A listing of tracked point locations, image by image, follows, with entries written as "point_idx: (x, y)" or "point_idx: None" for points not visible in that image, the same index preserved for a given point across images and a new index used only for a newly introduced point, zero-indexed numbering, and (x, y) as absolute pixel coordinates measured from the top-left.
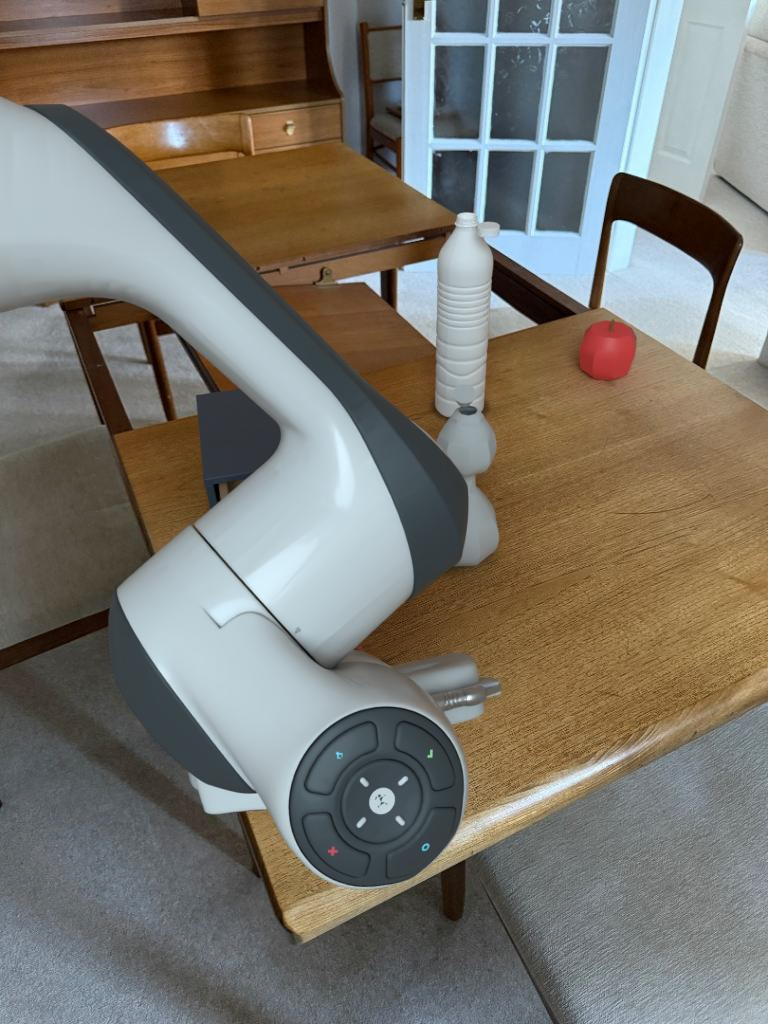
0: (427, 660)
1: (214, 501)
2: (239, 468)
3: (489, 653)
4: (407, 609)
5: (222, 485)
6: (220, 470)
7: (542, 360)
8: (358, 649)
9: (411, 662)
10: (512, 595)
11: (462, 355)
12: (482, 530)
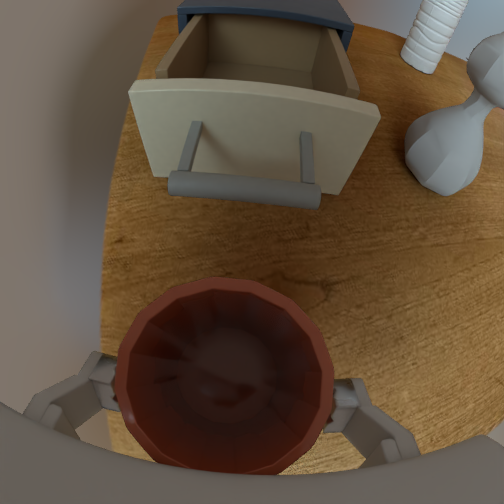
0: (463, 484)
1: None
2: (221, 3)
3: (438, 310)
4: (370, 217)
5: (196, 16)
6: (200, 3)
7: (460, 70)
8: (324, 368)
9: (433, 478)
10: (464, 243)
11: (438, 28)
12: (473, 167)
